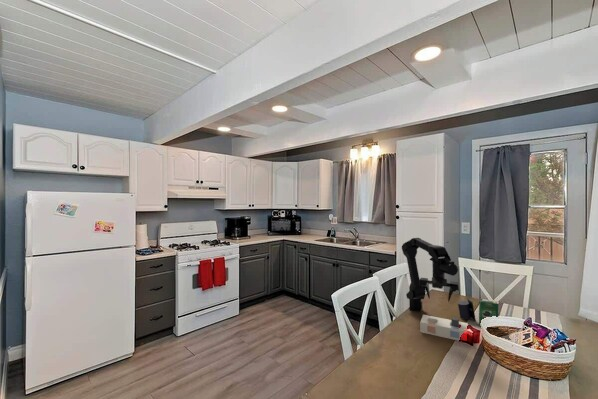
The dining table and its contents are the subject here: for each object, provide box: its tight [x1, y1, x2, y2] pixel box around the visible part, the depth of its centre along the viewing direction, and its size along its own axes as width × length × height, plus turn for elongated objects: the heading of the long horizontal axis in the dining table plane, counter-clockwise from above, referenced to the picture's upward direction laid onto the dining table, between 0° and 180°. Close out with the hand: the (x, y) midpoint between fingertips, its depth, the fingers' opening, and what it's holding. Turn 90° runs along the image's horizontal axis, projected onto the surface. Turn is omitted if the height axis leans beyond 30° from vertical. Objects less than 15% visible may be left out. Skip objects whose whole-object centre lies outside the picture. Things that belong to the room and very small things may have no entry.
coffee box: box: [478, 299, 499, 325], centre depth 143 cm, size 8×3×13 cm, turn 70°
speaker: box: [457, 298, 477, 322], centre depth 154 cm, size 8×6×10 cm
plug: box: [450, 316, 460, 327], centre depth 135 cm, size 3×3×8 cm
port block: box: [419, 314, 469, 342], centre depth 137 cm, size 20×10×5 cm, turn 58°
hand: (438, 299), depth 148 cm, fingers open, 9 cm apart
